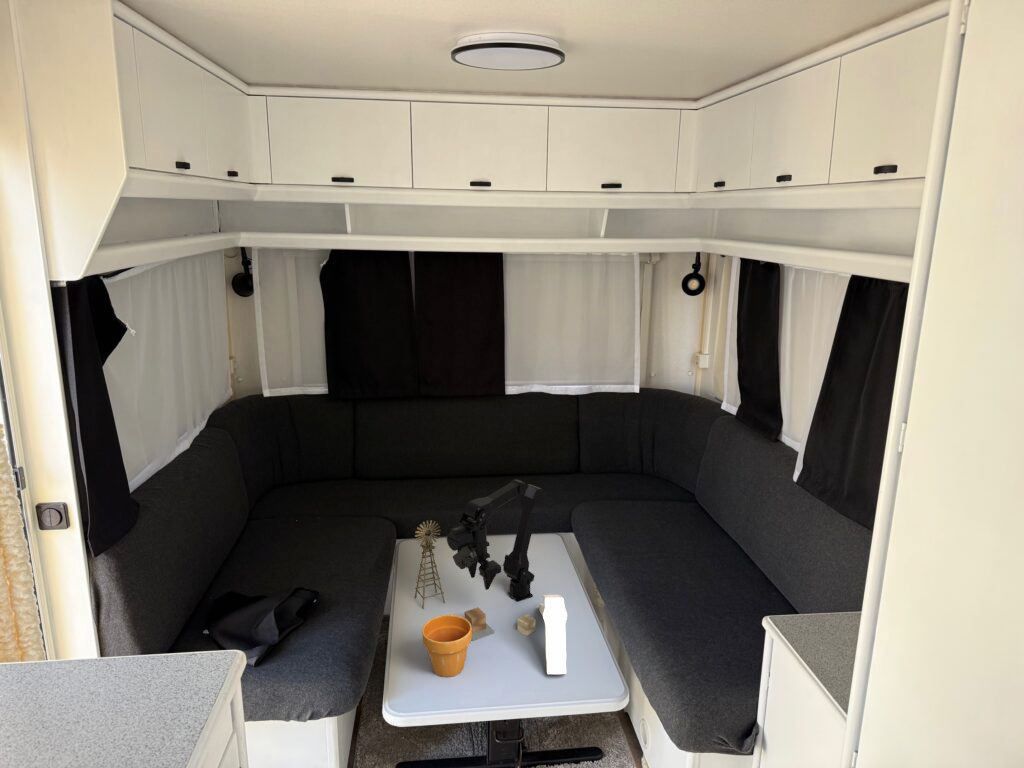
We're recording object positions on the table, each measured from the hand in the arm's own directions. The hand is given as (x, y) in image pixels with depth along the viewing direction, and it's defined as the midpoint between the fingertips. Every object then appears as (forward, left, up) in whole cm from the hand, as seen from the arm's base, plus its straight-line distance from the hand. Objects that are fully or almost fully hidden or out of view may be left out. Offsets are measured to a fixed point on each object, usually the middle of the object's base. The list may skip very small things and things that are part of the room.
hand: (479, 583), depth 226 cm
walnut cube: (+5, +6, -11) cm, 14 cm away
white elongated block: (-12, +25, -12) cm, 30 cm away
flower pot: (+21, +19, -12) cm, 31 cm away
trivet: (+5, +6, -12) cm, 14 cm away
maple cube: (-8, +16, -12) cm, 21 cm away
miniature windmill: (+10, -18, -12) cm, 24 cm away
